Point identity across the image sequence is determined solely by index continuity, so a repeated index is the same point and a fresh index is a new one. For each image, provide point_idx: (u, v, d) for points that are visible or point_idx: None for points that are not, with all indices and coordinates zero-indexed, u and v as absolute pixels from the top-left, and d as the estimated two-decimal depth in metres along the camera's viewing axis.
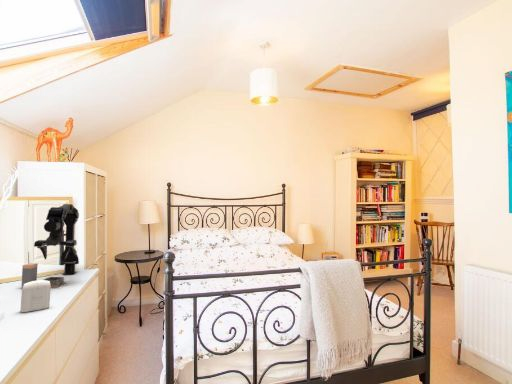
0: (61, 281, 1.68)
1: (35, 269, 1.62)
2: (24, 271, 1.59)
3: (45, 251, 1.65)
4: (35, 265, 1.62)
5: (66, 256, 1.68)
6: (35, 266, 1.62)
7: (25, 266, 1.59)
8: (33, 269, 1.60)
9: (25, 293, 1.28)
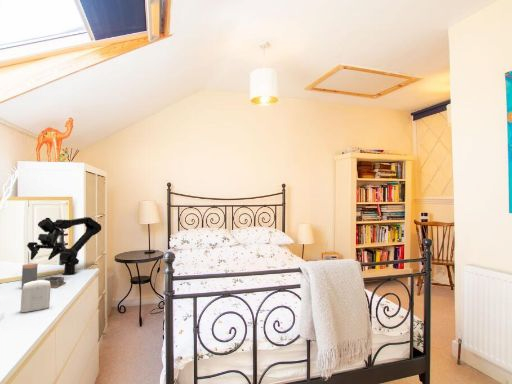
0: (61, 281, 1.68)
1: (35, 269, 1.62)
2: (24, 271, 1.59)
3: (34, 253, 1.72)
4: (35, 265, 1.62)
5: (51, 258, 1.71)
6: (35, 266, 1.62)
7: (25, 266, 1.59)
8: (33, 269, 1.60)
9: (25, 293, 1.28)
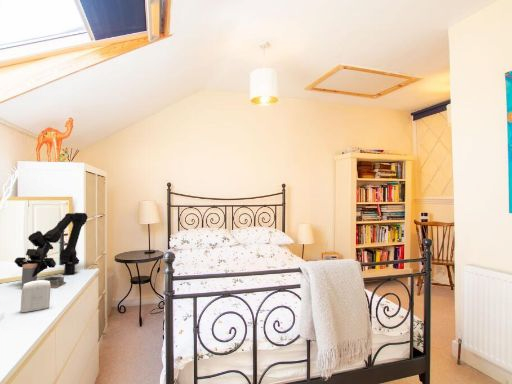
0: (61, 281, 1.68)
1: None
2: (24, 271, 1.59)
3: None
4: (35, 265, 1.62)
5: (35, 275, 1.61)
6: (35, 266, 1.62)
7: (25, 266, 1.59)
8: (33, 269, 1.60)
9: (26, 293, 1.28)
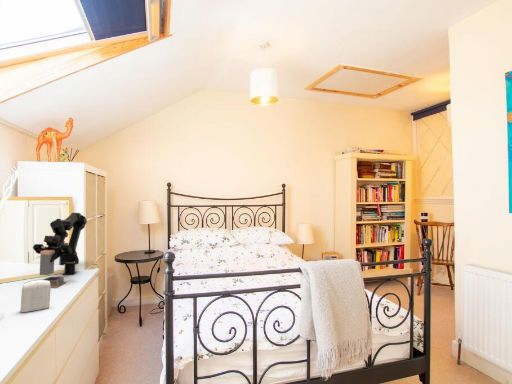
0: (61, 281, 1.68)
1: (52, 255, 1.66)
2: (42, 257, 1.63)
3: None
4: (52, 251, 1.66)
5: None
6: (52, 252, 1.66)
7: (43, 252, 1.63)
8: (50, 255, 1.64)
9: (25, 293, 1.28)
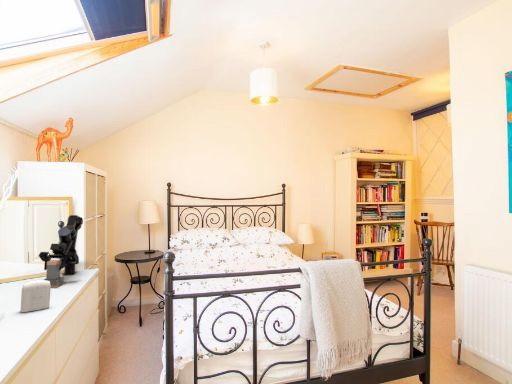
0: (61, 281, 1.68)
1: (58, 266, 1.68)
2: (48, 267, 1.64)
3: None
4: (59, 262, 1.68)
5: (61, 268, 1.67)
6: (59, 263, 1.68)
7: (49, 263, 1.65)
8: (56, 265, 1.66)
9: (25, 293, 1.28)
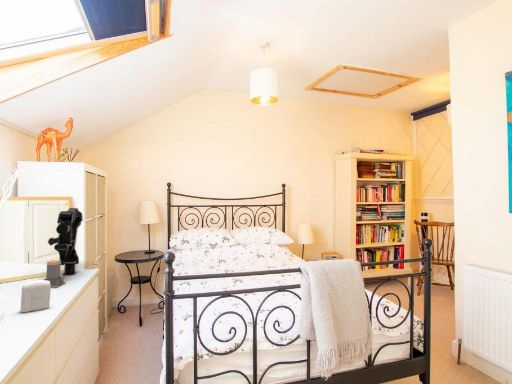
0: (61, 281, 1.68)
1: (59, 266, 1.68)
2: (48, 267, 1.64)
3: (67, 250, 1.84)
4: (59, 262, 1.68)
5: (63, 258, 1.74)
6: (59, 263, 1.68)
7: (49, 263, 1.65)
8: (56, 265, 1.66)
9: (26, 293, 1.28)
